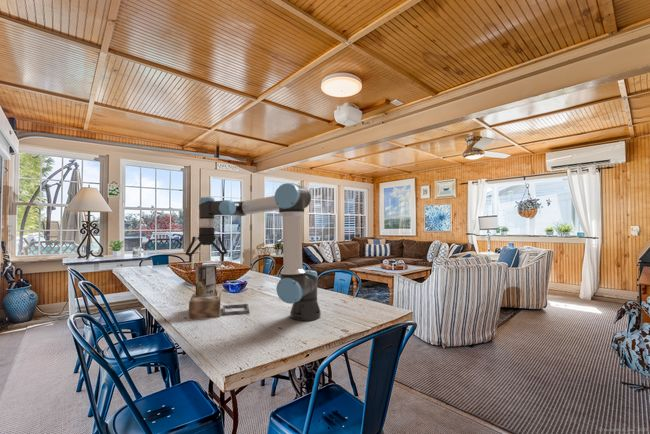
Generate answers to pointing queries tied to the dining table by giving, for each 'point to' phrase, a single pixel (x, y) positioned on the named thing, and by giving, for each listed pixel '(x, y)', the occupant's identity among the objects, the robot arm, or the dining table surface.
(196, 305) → the walnut caddy
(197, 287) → the coffee box
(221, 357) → the dining table surface
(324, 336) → the dining table surface
